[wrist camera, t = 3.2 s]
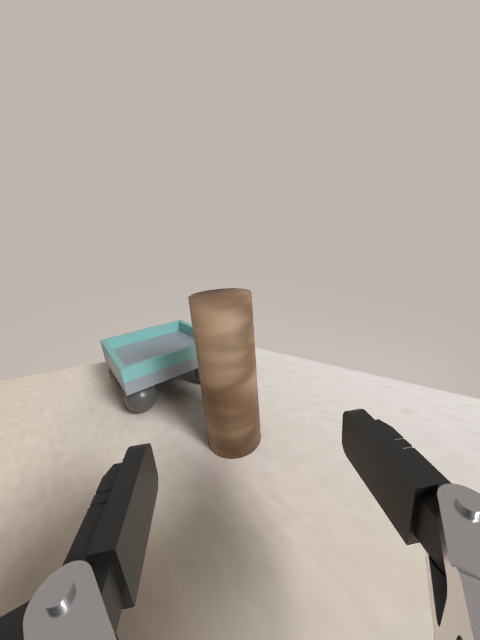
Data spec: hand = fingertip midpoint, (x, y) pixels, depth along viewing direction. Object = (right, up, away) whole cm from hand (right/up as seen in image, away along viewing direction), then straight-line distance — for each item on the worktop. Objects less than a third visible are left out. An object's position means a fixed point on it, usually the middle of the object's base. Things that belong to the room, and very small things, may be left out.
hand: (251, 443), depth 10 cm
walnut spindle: (-1, -6, +14) cm, 15 cm away
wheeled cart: (-11, -4, +25) cm, 27 cm away
